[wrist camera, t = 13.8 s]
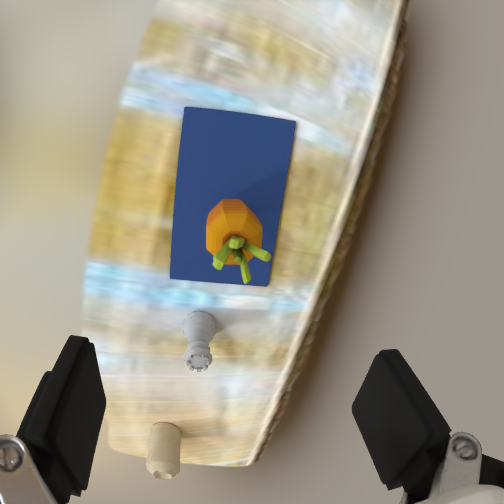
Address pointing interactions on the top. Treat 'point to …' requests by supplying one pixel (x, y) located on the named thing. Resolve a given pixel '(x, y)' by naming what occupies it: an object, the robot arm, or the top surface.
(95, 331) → the top surface
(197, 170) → the napkin
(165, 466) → the candle
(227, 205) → the carrot
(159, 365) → the top surface
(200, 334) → the rook chess piece
